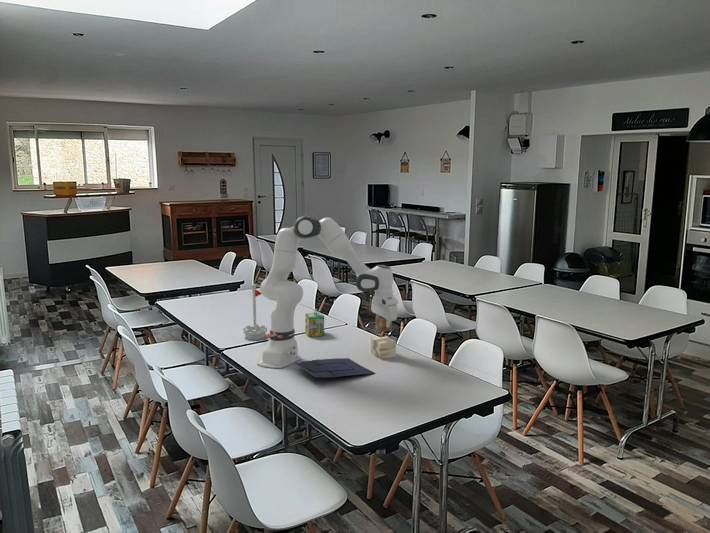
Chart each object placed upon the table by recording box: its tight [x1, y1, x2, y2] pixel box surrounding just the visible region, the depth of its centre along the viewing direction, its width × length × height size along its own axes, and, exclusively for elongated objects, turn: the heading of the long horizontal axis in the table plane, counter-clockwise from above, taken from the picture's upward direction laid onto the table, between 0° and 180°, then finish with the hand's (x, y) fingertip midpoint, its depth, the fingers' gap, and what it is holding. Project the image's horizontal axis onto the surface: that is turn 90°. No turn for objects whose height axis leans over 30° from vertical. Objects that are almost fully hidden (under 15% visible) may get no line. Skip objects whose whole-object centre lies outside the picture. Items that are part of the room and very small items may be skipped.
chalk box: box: [304, 308, 325, 338], centre depth 297 cm, size 9×9×15 cm
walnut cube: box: [374, 316, 393, 333], centre depth 262 cm, size 6×6×6 cm
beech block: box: [370, 335, 397, 360], centre depth 264 cm, size 9×9×8 cm
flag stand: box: [242, 283, 268, 340], centre depth 292 cm, size 13×13×30 cm
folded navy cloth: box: [294, 357, 375, 379], centre depth 241 cm, size 24×30×4 cm
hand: (383, 325), depth 262 cm, fingers closed on walnut cube, 6 cm apart
